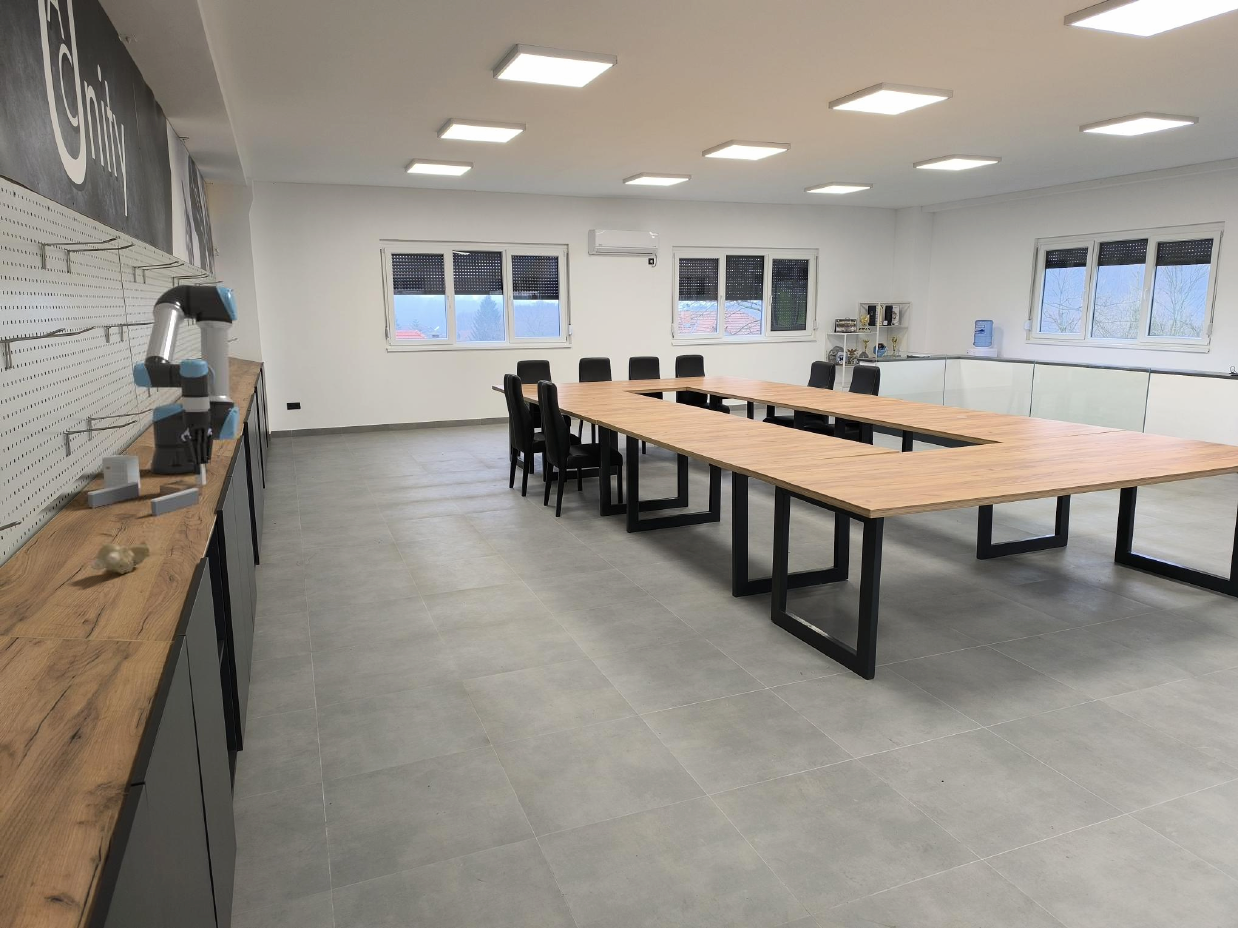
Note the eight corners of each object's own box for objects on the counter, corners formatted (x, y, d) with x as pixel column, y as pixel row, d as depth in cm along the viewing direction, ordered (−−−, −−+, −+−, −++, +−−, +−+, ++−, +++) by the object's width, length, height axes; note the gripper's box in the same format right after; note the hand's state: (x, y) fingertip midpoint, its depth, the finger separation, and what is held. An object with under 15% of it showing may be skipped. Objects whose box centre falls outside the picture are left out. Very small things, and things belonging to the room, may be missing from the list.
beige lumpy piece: (152, 539, 183) (114, 538, 171) (157, 569, 182) (119, 571, 170) (119, 547, 183) (79, 547, 172) (123, 577, 183) (83, 579, 171)
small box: (141, 488, 253) (138, 456, 251) (128, 492, 248) (126, 459, 245) (117, 487, 254) (114, 454, 252) (104, 491, 248) (101, 457, 246)
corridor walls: (134, 495, 244) (133, 481, 243) (199, 503, 238) (198, 488, 237) (88, 507, 228) (87, 492, 228) (156, 516, 223) (155, 500, 222)
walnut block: (182, 492, 251) (181, 480, 250) (202, 495, 249) (201, 483, 248) (160, 498, 244) (159, 485, 243) (181, 501, 241) (180, 488, 240)
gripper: (201, 407, 256) (205, 479, 261) (169, 411, 244) (174, 487, 248) (221, 408, 255) (225, 481, 259) (190, 413, 242) (195, 489, 247)
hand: (200, 484), depth 254 cm, fingers closed
